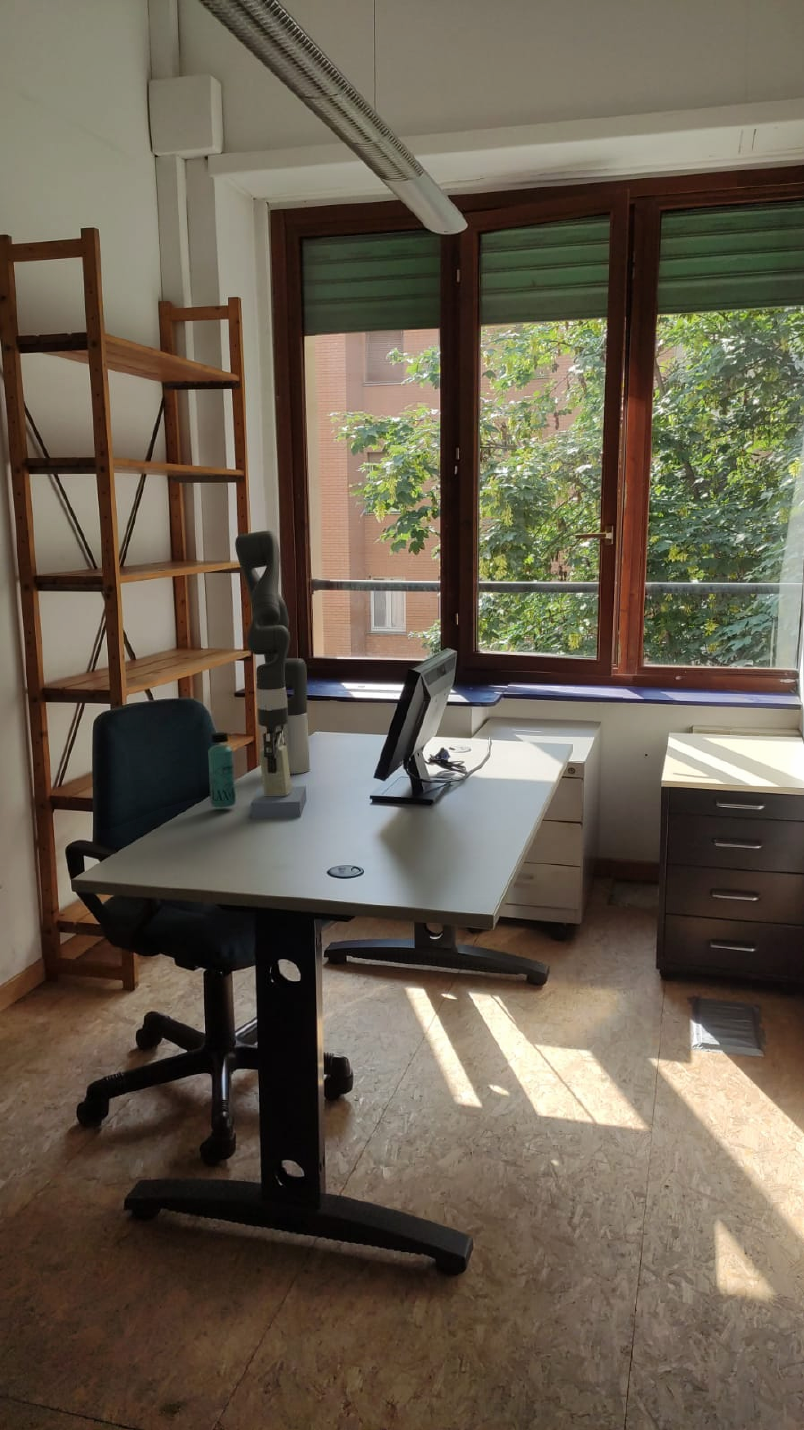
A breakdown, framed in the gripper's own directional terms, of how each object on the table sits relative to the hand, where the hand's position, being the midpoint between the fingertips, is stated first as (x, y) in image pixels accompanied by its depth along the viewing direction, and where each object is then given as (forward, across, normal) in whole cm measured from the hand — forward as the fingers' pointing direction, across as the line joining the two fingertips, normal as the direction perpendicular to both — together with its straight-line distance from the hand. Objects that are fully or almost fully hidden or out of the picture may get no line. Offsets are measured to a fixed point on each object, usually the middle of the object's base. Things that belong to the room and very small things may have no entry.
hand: (275, 768), depth 266 cm
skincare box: (+7, 0, 0) cm, 7 cm away
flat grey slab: (+11, 0, 0) cm, 11 cm away
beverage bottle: (+11, 0, -14) cm, 18 cm away
